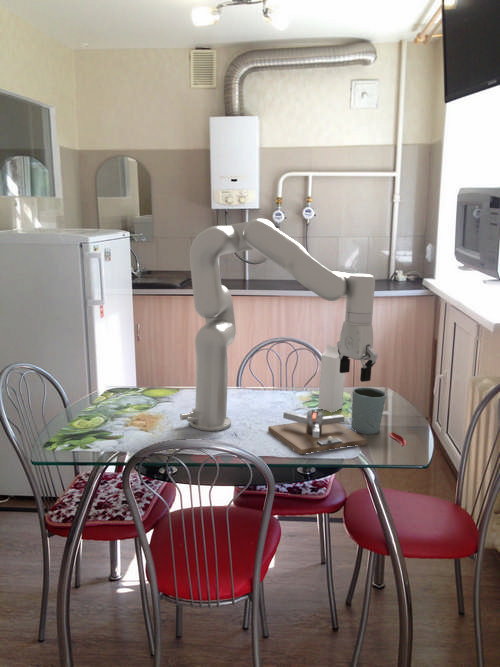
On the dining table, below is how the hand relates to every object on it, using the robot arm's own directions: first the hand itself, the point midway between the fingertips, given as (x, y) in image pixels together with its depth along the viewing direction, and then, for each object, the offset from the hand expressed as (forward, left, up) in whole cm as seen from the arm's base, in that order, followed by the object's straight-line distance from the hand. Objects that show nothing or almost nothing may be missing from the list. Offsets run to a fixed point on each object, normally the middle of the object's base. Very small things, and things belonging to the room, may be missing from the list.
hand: (354, 376), depth 170 cm
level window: (-9, -3, -18) cm, 20 cm away
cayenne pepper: (+14, -4, -20) cm, 25 cm away
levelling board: (-8, +5, -19) cm, 22 cm away
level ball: (-9, -3, -17) cm, 20 cm away
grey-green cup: (+11, +6, -20) cm, 23 cm away
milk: (+11, +26, -20) cm, 34 cm away
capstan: (-7, +5, -17) cm, 19 cm away
